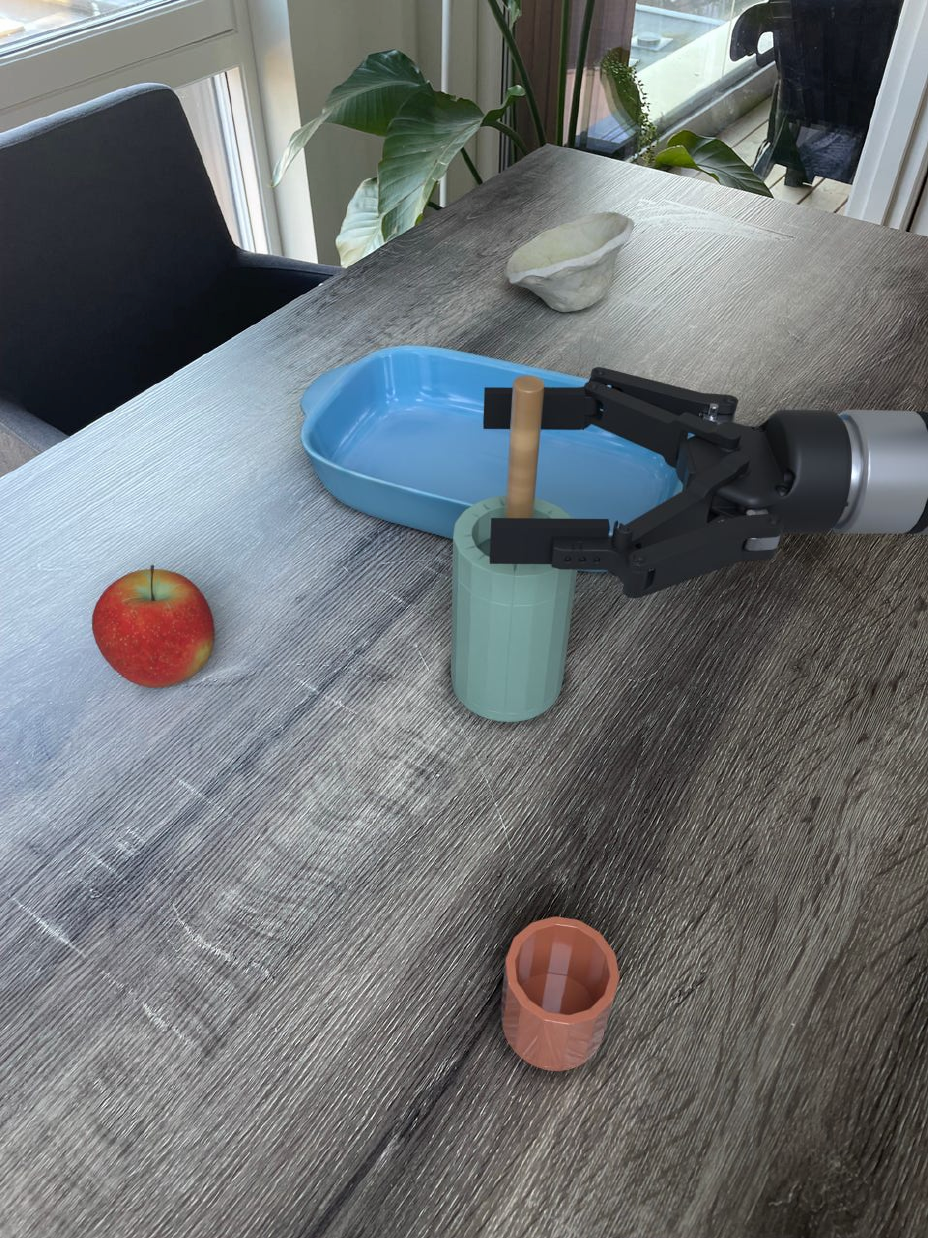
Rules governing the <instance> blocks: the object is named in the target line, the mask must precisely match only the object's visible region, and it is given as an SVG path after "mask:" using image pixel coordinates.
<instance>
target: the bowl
mask: <svg viewBox="0 0 928 1238" xmlns="http://www.w3.org/2000/svg"><path fill="white" fill-rule="evenodd" d="M634 228H635V221H634V219H632V218H630V217H628V216H626V215H624V214H621V213H619V212H616V211H612V212H611V211H605V212H599V213H598V212H597V213H591V214H587V215H584V216H581V217H580V218H575V219H574V220H573V221H572V222H566V223H563V224H561V225H559V226H556V227H553V228H550V229H549V230H544V231H542V232H541V233H539V234H537V235H536V236H535V237H534V238H532V239H530V240H529V241H527V242H526V243H525V244H523V245H522V246H520V247H518V248H516V249H515V251H514V252H513V253H512V255H511V257H510V258H509V259H508V262H507V264H506V266H505V268H504V270H503V275H504V276H505V278H507V279H508V280H509V283H510V284H511V285H515V286H519V287H521V288H525V289H528V290H529V291H531V292H532V293H534V294H535V295H536V296H538V297H539V298H541V299H542V300H543V301H544V302H545V303H546V305H547V306H548V307H549V308H550V309H553V310H555V311H557V312H561V313H569V312H570V313H571V312H576V311H581V310H583V309H586V308H590V307H592V305H594V304H595V303H597V302H598V301H601V299H602V298H603V297H604V296H606V294H607V293H608V291H609V289H610V287H611V285H612V282H613V280H614V270H615V261H616V260H617V258H618V256H619V253H620V251H621V250H622V248H623V247H624V246H625V245H626V244H627V242H628V241H629V239H630V238H631V235H632V232H633V230H634Z"/></svg>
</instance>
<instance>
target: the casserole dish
mask: <svg viewBox="0 0 928 1238" xmlns="http://www.w3.org/2000/svg"><path fill="white" fill-rule="evenodd" d="M521 376H535V377H538V378H540V379H541V380H542V381H543V382H544V384H545V387H550V388H551V387H556V388H558V387H583V386H584V384H585V383H587V382H588V381H589V379H590V378H586V377H581V376H577V375H572V374H567V373H563V372H560V371H559V372H558V371H554V370H549V369H545V368H542V367H541V368H540V367H536V366H531V365H527V364H522V363H518V362H514V361H509V360H504V359H499V358H494V357H490V356H485V355H482V354H481V355H480V354H476V353H471V352H466V351H462V350H461V351H460V350H456V349H450V348H445V347H438V346H429V345H419V344H406V345H405V344H403V345H394V346H389V347H385V348H380V349H378V350H375V351H373V352H371V353H369V354H367V355H365V356H362V357H361V358H360V359H358V360H356V361H353V362H350V363H347V364H344V365H340V366H337V367H335V368H332V369H330V370H328V371H326V372H324V373H323V374H321V375H320V376H318V377H317V378H316V379H314V381H312V383H311V384H310V385H308V386H307V388H306V389H305V391H304V392H303V394H302V395H301V398H300V401H299V407H300V410H301V412H302V414H303V415H304V416H305V418H304V421H303V422H302V425H301V427H300V433H299V435H300V436H299V437H300V443H301V446H302V448H303V449H304V450H303V451H304V452H305V453H306V455H307V457H308V459H309V461H310V464H311V466H312V468H313V469H314V472H315V473H316V475H317V477H318V479H319V480H320V482H321V484H322V485H323V486H324V488H325V489H326V490H327V491H328V493H330V494H331V496H332V497H334V498H335V499H336V500H338V501H340V502H341V503H342V504H344V505H345V506H347V507H349V508H351V509H353V510H355V511H357V512H360V513H362V514H365V515H367V516H370V517H373V518H376V519H379V520H382V521H385V522H388V523H392V524H396V525H400V526H403V527H407V528H410V529H415V530H418V531H421V532H425V533H429V534H433V535H436V536H440V537H444V538H446V539H451V540H453V534H454V526H455V523H456V521H457V520H458V519H459V517H460V516H461V515H462V513H463V512H464V511H465V510H466V509H468V508H469V507H471V506H473V505H474V504H476V503H478V502H480V501H482V500H486V499H489V498H493V497H496V496H506V489H507V473H508V457H509V440H510V429H483V415H484V389H485V387H503V388H513V382H514V380H515V379H516V378H518V377H521ZM607 386H608V387H611V386H610V385H607ZM600 410H601V411H603V410H602V409H600ZM693 436H695V435H694V434H691V433H688V438H690V437H693ZM688 438H687V439H688ZM682 488H683V484H682V482H681V481H680V480H679V478H678V477H677V473H676V469H675V468H673V467H671V466H669V465H668V464H667V463H666V462H665V459H664V457H663V456H662V455H660V454H657V453H655V452H653V451H651V450H648V449H646V448H644V447H642V446H639V445H637V444H635V443H633V442H630V441H628V440H626V439H624V438H621V437H619V436H617V435H615V434H612V433H610V432H608V431H606V430H603V429H601V428H599V427H597V426H594V425H592V424H591V425H590V426H589V427H587V428H586V429H585V428H584V430H582V429H581V430H541V433H540V444H539V456H538V467H537V479H536V490H535V498H540V499H542V500H545V501H547V502H550V503H552V504H554V505H557V506H559V507H560V508H561V509H563V510H564V511H565V512H566V513H568V514H569V515H570V516H571V517H572V518H573V519H609V524H610V531H609V536H612V534H613V528H614V523H615V521H618V527H617V528H618V529H619V524H620V523H622V524H624V525H626V524H628V523H629V522H631V521H633V520H634V519H636V518H638V517H639V516H641V515H643V514H645V513H646V512H648V511H650V510H651V509H653V508H655V507H656V506H658V505H660V504H661V503H663V502H665V501H667V500H668V499H670V498H672V497H673V496H675V495H677V494H678V493H680V492H682ZM577 572H586V573H607V572H608V570H579V569H578V570H577ZM608 573H609V572H608Z"/></svg>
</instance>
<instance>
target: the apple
mask: <svg viewBox="0 0 928 1238" xmlns="http://www.w3.org/2000/svg"><path fill="white" fill-rule="evenodd" d="M91 630H92V635H93V638H94V641H95V644H96V646H97V648H98V651H100V653H101V655H102V657H103V659H105V661H106V662H107V663H108V664H109V665H110V666H111V668H112V669H113V670H114V671H115V672H116V673H118V674H119V675H120V676H121V677H122V678H124V679H125V680H127V681H129V682H131V683H133V684H136V685H138V686H141V687H145V688H150V689H151V688H152V689H158V688H167V687H172V686H175V685H178V684H180V683H183V682H185V681H187V680H190V678H192V677H194V676H195V675H197V674H198V673H199V672H201V670H202V669H203V668H204V667H205V665H206V664H207V663H208V661H209V659H210V657H211V655H212V653H213V650H214V645H215V638H216V637H215V635H216V634H215V632H216V631H215V630H216V629H215V621H214V617H213V613H212V611H211V607H210V605H209V602H208V600H207V599H206V597H205V596H204V594H203V592H202V590H200V589H199V587H198V586H197V585H196V584H195V583H194V582H193V581H191V580H190V579H189V578H187V577H185V576H184V575H182V574H180V573H178V572H175V571H172V570H167V569H159V568H155V565H154V564H152V565H150V568H146V569H139V570H135V571H132V572H129V573H126V574H124V575H122V576H121V577H119V578H117V579H116V580H115V581H114V582H113V583H111V584H110V585H108V587H107V588H106V589H105V590H104V591H103V592H102V593H101V595H100V596H99V598H98V599H97V601H96V603H95V605H94V608H93V611H92V615H91Z"/></svg>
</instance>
